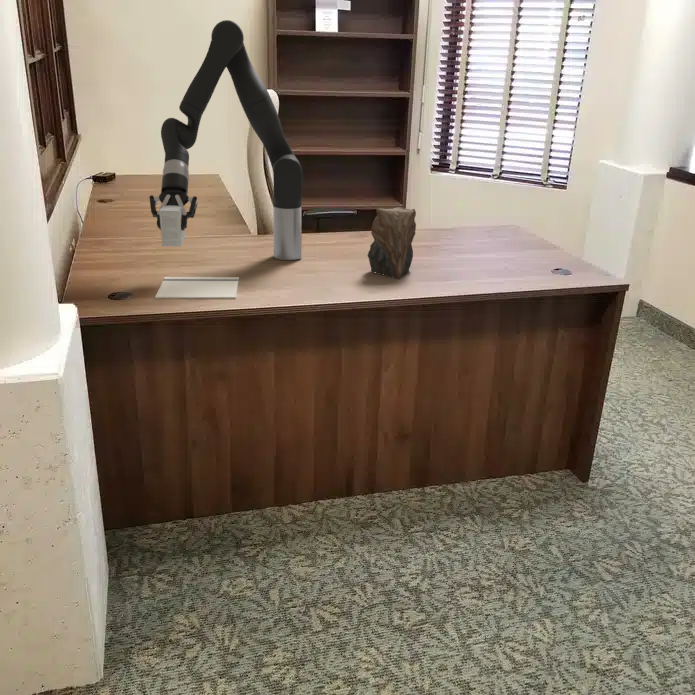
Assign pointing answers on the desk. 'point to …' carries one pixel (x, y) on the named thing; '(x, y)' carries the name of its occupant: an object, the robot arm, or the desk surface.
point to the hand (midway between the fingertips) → (171, 228)
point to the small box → (171, 226)
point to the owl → (392, 241)
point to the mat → (198, 288)
